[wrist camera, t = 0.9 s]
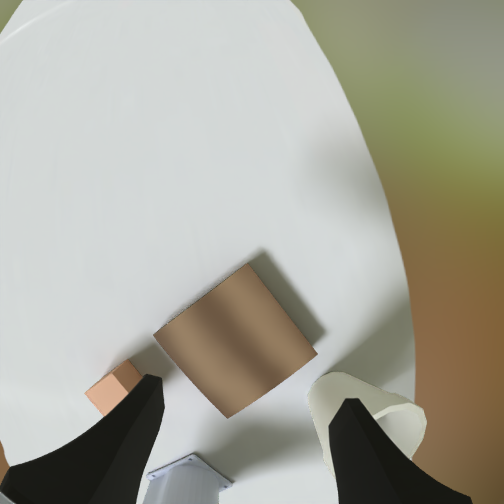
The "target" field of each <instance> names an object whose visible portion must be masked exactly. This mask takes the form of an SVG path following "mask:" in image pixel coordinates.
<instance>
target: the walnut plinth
mask: <svg viewBox="0 0 504 504" xmlns="http://www.w3.org/2000/svg"><path fill="white" fill-rule="evenodd" d="M153 336H154V337H155V339H156V340H157V341H158V342H159V344H160V345H161V346H162V347H163V349H164V350H165V351H166V352H167V354H168V355H169V356H170V357H171V358H172V360H173V361H174V362H175V363H176V364H177V366H178V367H179V368H180V369H181V370H182V371H183V372H184V374H185V375H186V376H187V377H188V378H189V379H190V380H191V381H192V383H193V384H194V385H195V386H196V387H197V388H198V389H199V390H200V391H201V392H202V393H203V394H204V396H205V397H206V398H207V399H208V400H209V401H210V402H211V403H212V404H213V405H214V406H215V407H216V408H217V409H218V410H219V411H220V412H221V413H222V414H223V415H224V416H225V417H226V418H227V419H228V418H230V417H231V416H233V415H234V414H236V413H238V412H239V411H241V410H242V409H244V408H245V407H247V406H248V405H250V404H251V403H253V402H254V401H256V400H257V399H259V398H260V397H262V396H263V395H265V394H266V393H268V392H269V391H270V390H272V389H273V388H275V387H276V386H277V385H279V384H280V383H282V382H283V381H284V380H286V379H287V378H288V377H290V376H291V375H292V374H294V373H295V372H296V371H297V370H299V369H300V368H301V367H303V366H304V365H305V364H306V363H308V362H309V361H310V360H311V359H313V358H314V357H315V356H316V355H318V353H317V352H316V351H315V350H314V348H313V347H312V346H311V345H310V343H309V342H308V341H307V339H306V338H305V337H304V336H303V334H302V333H301V332H300V330H299V329H298V328H297V326H296V325H295V324H294V323H293V321H292V320H291V319H290V317H289V316H288V315H287V314H286V312H285V311H284V310H283V308H282V307H281V306H280V304H279V303H278V302H277V301H276V299H275V298H274V297H273V295H272V294H271V293H270V291H269V290H268V289H267V288H266V286H265V285H264V284H263V282H262V281H261V280H260V278H259V277H258V276H257V274H256V273H255V272H254V271H253V269H252V268H251V267H250V265H249V264H248V263H247V264H245V265H244V266H243V267H241V268H240V269H239V270H237V271H236V272H235V273H233V274H232V275H231V276H229V277H228V278H227V279H226V280H224V281H223V282H222V283H220V284H219V285H218V286H216V287H215V288H214V289H212V290H211V291H210V292H208V293H207V294H206V295H205V296H203V297H202V298H201V299H199V300H198V301H197V302H195V303H194V304H193V305H191V306H190V307H189V308H187V309H186V310H185V311H183V312H182V313H181V314H179V315H178V316H177V317H175V318H174V319H173V320H171V321H170V322H169V323H168V324H166V325H165V326H164V327H162V328H161V329H160V330H158V331H157V332H156V333H155V334H154V335H153Z"/></svg>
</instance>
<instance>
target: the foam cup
mask: <svg viewBox="0 0 504 504" xmlns="http://www.w3.org/2000/svg"><path fill="white" fill-rule="evenodd" d="M345 398H359V399H360V401H361V402H362V403H363V404H364V406H365V407H366V408H367V410H368V411H369V412H370V414H371V415H372V416H373V418H374V419H375V420H376V422H377V423H378V424H379V426H380V427H381V428H382V429H383V431H384V432H385V433H386V434H387V436H388V437H389V438H390V439H391V440H392V441H393V443H394V444H395V445H396V446H397V447H398V448H399V449H400V450H401V451H402V452H403V453H404V454H405V455H406V456H407V457H408V458H409V459H410V458H411V457H412V456H413V454H414V453H415V451H416V450H417V448H418V446H419V445H420V443H421V441H422V440H423V437H424V433H425V428H426V424H427V421H426V418H425V414H424V412H423V409H422V408H421V407H419V406H418V405H416V404H415V403H413V402H412V401H410V400H408V399H407V398H404V397H402V396H400V395H398V394H396V393H389V392H386V391H384V390H382V389H379V388H377V387H375V386H373V385H371V384H368V383H366V382H364V381H362V380H360V379H357V378H355V377H353V376H351V375H349V374H347V373H344V372H330V373H328V374H326V375H323V376H321V377H320V378H319V379H318V380H317V381H316V382H315V383H314V384H313V385H312V387H311V389H310V391H309V393H308V405H309V409H310V412H311V415H312V419H313V422H314V425H315V428H316V431H317V434H318V437H319V440H320V444H321V447H322V450H323V453H324V456H323V460H324V462H325V464H326V466H327V467H328V469H329V471H330V473H331V475H332V476H333V477H334V478H335V479H336V477H335V472H334V467H333V462H332V457H331V452H330V446H329V429H328V425H329V424H330V422H331V421H332V419H333V418H334V416H335V414H336V413H337V411H338V410H339V408H340V406H341V405H342V403H343V401H344V400H345Z"/></svg>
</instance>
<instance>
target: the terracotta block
mask: <svg viewBox="0 0 504 504" xmlns="http://www.w3.org/2000/svg"><path fill="white" fill-rule="evenodd" d="M142 378H143V377H142V376H141V375H140V373H139V372H138V371H137V370H136V369H135V367H134V366H133V365H132V364H131V362H130V361H129V360H128V359H127V360H126V361H124V362H123V363H122V364H120V365H119V366H118V367H116V368H115V369H113V370H112V371H111V372H109V373H108V374H107V375H105V376H104V377H103V378H101V379H100V380H99V381H98V382H97V383H95V384H94V385H93V386H92V387H91V388H90V389H88V390H87V391H86V392H85V395H86V396H87V397H88V398H89V400H90V401H91V402H92V403H93V404H94V406H95V407H96V408H97V409H98V410H99V411H100V413H101V414H102V415H103V416H106V415H107V414H108V413H109V412H110V411H111V410H112V409H113V408H114V407H115V406H116V405H117V404H118V403H119V402H120V401H122V400H123V399H124V398H125V396H126V395H127V394H128V393H129V392H130V391H131V390H132V389H133V388H134V387H135V386H136V385H137V383H138V382H139V381H140V380H141V379H142Z"/></svg>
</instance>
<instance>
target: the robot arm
mask: <svg viewBox="0 0 504 504" xmlns="http://www.w3.org/2000/svg"><path fill="white" fill-rule="evenodd" d="M164 409H165V405H164V396H163V386H162V378H161V377H157V376H153V375H149V374H146V375H144V376H143V378H142V379H141V380H140V381H139V382H138V383H137V385H136V386H135V387H134V388H133V389H132V390H131V391H130V392H129V393H128V394H127V395H126V396H125V398H124V399H123V400H122V401H120V402H119V403H118V404H117V405H116V406H115V407H114V408H113V409H112V410H111V411H110V412H109V413H108V414H107V415H106V416H104V417H103V418H102V419H101V420H100V421H99V422H97V423H96V424H95V425H94V426H93V427H91V428H90V429H89V430H87V431H86V432H85V433H83V434H82V435H80V436H79V437H77V438H76V439H74V440H73V441H71V442H69V443H68V444H66V445H64V446H62V447H61V448H59V449H57V450H55V451H53V452H51V453H48V454H46V455H44V456H42V457H39V458H37V459H34V460H31V461H28V462H25V463H22V464H18V465H15V466H11V467H10V468H9V470H8V471H7V473H6V475H5V476H4V479H3V481H2V483H1V485H0V492H1V493H0V504H136V501H137V495H138V491H139V487H140V482H141V478H142V475H143V472H144V469H145V466H146V463H147V461H148V458H149V456H150V453H151V450H152V448H153V445H154V442H155V440H156V437H157V435H158V432H159V429H160V425H161V422H162V418H163V413H164ZM328 429H329V446H330V452H331V457H332V462H333V467H334V472H335V477H336V482H337V488H338V497H339V504H473V503H472V500H471V498H470V497H469V496H466V495H464V494H462V493H459V492H457V491H454V490H452V489H450V488H449V487H447V486H445V485H443V484H441V483H440V482H438V481H436V480H435V479H433V478H432V477H431V476H429V475H428V474H426V473H425V472H424V471H422V470H421V469H420V468H419V467H418V466H416V465H415V464H414V463H413V462H412V461H411V460H410V459H409V458H408V457H407V456H406V455H405V454H404V453H403V452H402V451H401V450H400V449H399V448H398V447H397V446H396V445H395V444H394V443H393V441H392V440H391V439H390V438H389V437H388V436H387V434H386V433H385V432H384V431H383V429H382V428H381V427H380V426H379V424H378V423H377V422H376V420H375V419H374V418H373V416H372V415H371V414H370V412H369V411H368V410H367V408H366V407H365V406H364V404H363V403H362V402H361V401H360V399H359V398H345V400H344V401H343V403H342V405H341V406H340V408H339V410H338V411H337V413H336V414H335V416H334V418H333V419H332V421H331V422H330V424H329V425H328ZM146 478H147V479H148V480H150V483H149V486H148V489H147V492H146V495H145V498H144V501H143V504H219V492H221V491H223V490H225V489H228V488H230V487H232V483H231V482H230V481H228V480H227V479H226V478H224V477H223V476H222V475H220V474H219V473H218V472H216V471H215V470H214V469H212V468H211V467H210V466H209V465H207V464H206V463H205V462H204V461H202V460H201V459H200V458H199V457H197V456H196V455H194V454H191V455H189V456H187V457H185V458H183V459H181V460H179V461H177V462H175V463H172V464H170V465H168V466H166V467H163V468H161V469H159V470H157V471H154V472H152V473H149V474H147V475H146Z"/></svg>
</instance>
